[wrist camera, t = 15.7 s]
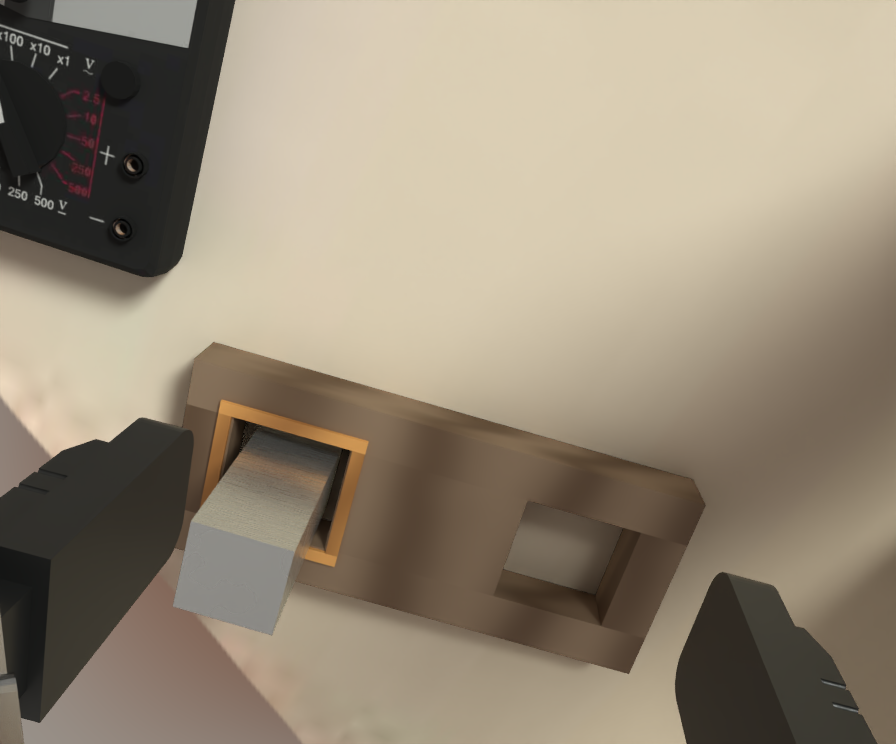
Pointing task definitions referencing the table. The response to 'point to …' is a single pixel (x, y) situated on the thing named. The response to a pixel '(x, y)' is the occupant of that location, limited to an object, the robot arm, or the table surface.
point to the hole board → (449, 507)
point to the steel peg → (256, 530)
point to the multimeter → (107, 123)
